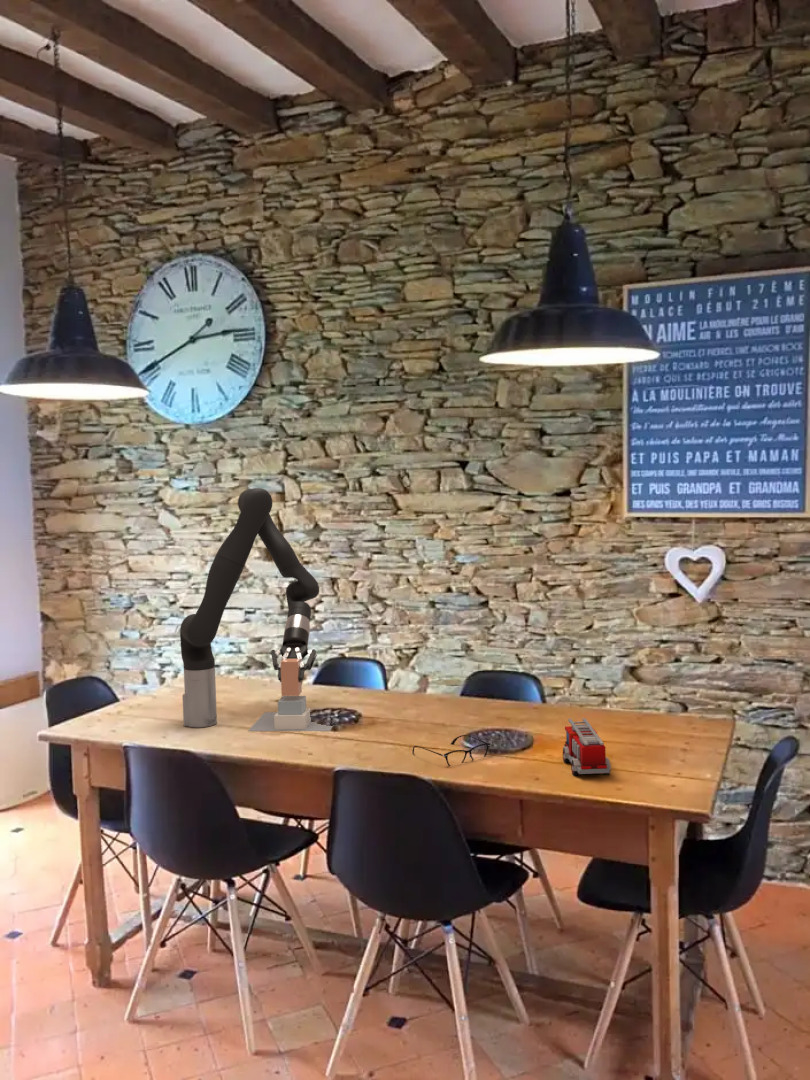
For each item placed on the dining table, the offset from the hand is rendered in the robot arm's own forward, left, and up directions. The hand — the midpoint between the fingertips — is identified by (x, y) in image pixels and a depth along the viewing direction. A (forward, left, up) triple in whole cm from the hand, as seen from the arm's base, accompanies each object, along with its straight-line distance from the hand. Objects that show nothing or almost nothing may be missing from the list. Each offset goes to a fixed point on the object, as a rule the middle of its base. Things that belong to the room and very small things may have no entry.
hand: (290, 680), depth 272 cm
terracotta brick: (0, +2, -4) cm, 5 cm away
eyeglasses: (+47, -25, -15) cm, 55 cm away
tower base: (0, +2, -14) cm, 14 cm away
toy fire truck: (+81, -36, -15) cm, 90 cm away
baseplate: (0, +7, -15) cm, 16 cm away
